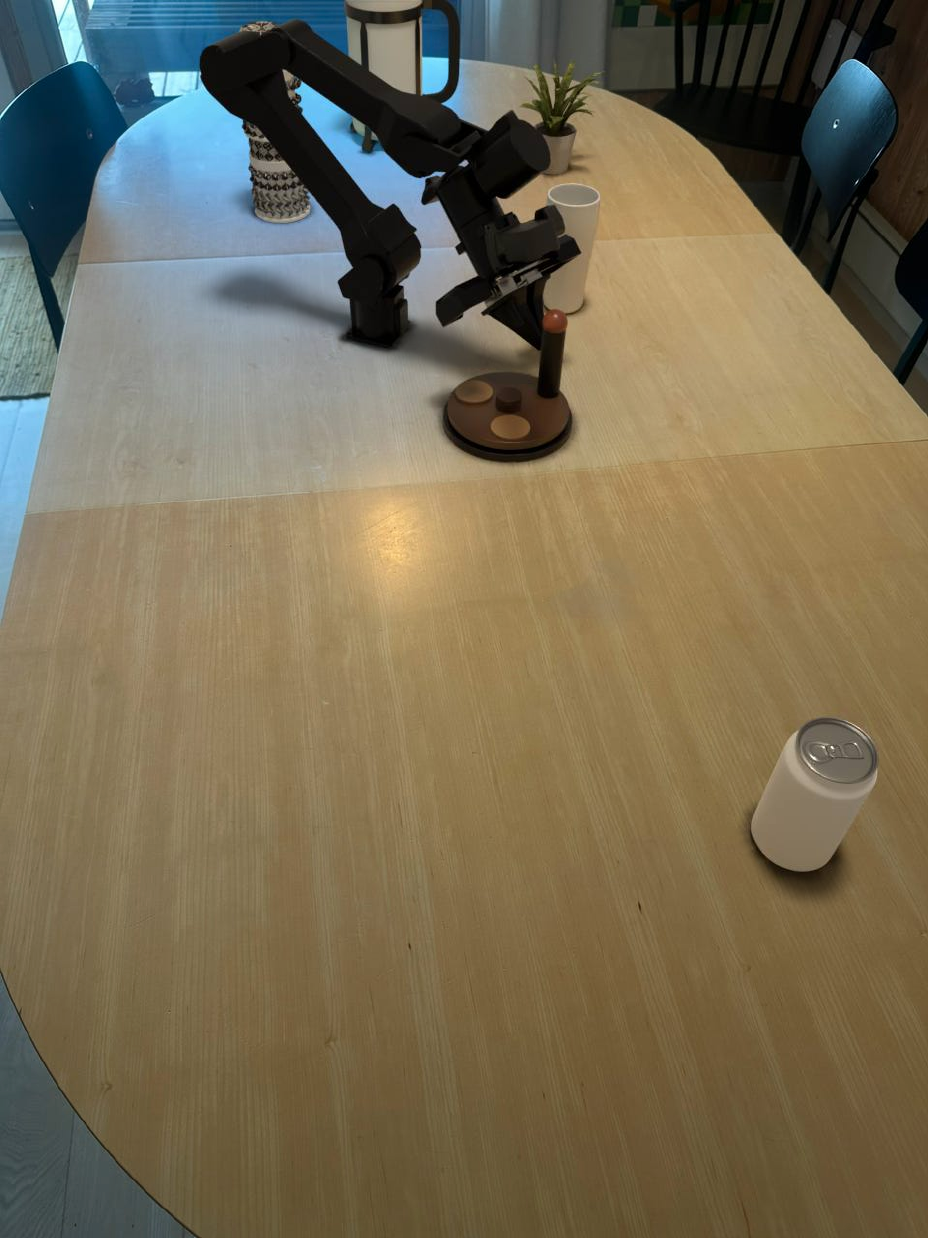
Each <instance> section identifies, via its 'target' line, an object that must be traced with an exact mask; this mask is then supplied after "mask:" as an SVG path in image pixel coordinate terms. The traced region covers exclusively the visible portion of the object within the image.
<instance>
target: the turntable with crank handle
mask: <svg viewBox="0 0 928 1238" xmlns="http://www.w3.org/2000/svg"><path fill="white" fill-rule="evenodd" d="M568 321H569V320H568V317H567V314H566V313H564V312H562V311H561V310H558V309H553V310H547V312H546V313H544V317H543V320H542V326H543V329H542V340H541V351H539V363H538V373H537V374H538V375H537V376H535V375H532V374H528V373H524V372H523V373H522V372H515V371H493V372H487V373H482V374H479V375H475V376H473V377H470V378H468V379H466V380H464V381H462V382H461V383H459V384H458V385H457V386H456V387H455V388H454V389H453V390H452V392H451V393H450V395H449V397H448V399H447V401H448V404H447V413H448V418H449V421H450V423H451V425H452V426H453V428H454V429H455V430H456V431H457V432H458V433H459V434H460V435H462V436H463V437H465V438H466V439H468V440H470V441H472V442H474V443H477V444H479V445H482V446H486V447H490V448H495V449H502V450H520V449H528V448H533V447H537V446H540V445H543V444H545V443H548V442H549V441H551V440H553V439H555V438H556V437H557V436H559V435H560V434H561V433H562V431H563V430H564V429H565V427H566V425H567V423H568V418H569V408H570V405H569V401H568V399H567V397H566V396H565V394H564V393H563V392H562V391H561V390H560V389H561V381H562V380H561V379H562V372H563V362H564V354H565V353H564V351H565V343H566V335H567V328H568V325H569V322H568Z"/></svg>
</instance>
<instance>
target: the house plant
mask: <svg viewBox="0 0 928 1238" xmlns="http://www.w3.org/2000/svg"><path fill="white" fill-rule="evenodd" d="M552 59H553V69H554V77H552V79H553V82H554V104H553V103H552V99H551V94H550V89H549V85H548V82H547V78H546V76H545V74H544V73H543V72H542V70H541V69H540V68H539V65H537V64H536V63H535V62H533V61H531V64H532V67H533V69H534V71H535V74H536V78H537V81H538V85H539V87H537V86H536V84H535V83H534V82H533V81H532V80H531V79H530V78H529V77H527V76H525V75H524V76H523V77H524V78H525V79H526V81H527V82H529V84H530V85H531V87H532V89H533V90H534V91H535V93H536V94H537V95H538V98H539V99H532V100H531V103H532V104H531V103H529V102H525V103H522V104H521V105H519V106H518V107H517V108H518V109H519V108H524V109H529V110H533V111H535V112H537V113H538V114H539V115H540V117H541V119H542V121H540V122H537V123H536V124H535V125H533V126H534V127H535V129H536V130H537V131H538V130H539V131H540V132H541V133H542V135H543V136H544V138H545V140H546V142H547V144H548V147H549V150H550V155H551V162H550V166H549V168H548V169H547V170H546V171H544V172H543V173H542V174H546V175H553V176H554V175H561V174H562V175H563V174H564V173H566V172H567V171H568V168H569V164H570V160H571V157H572V151H573V149H574V148H573V147H574V145H575V141H576V136H577V131H578V129H577V128H576V127H577V126H575V125H574V124H572V123H573V121H571V122H568V120H569V119H570V117H571V116H572V115H574V114H576V113H580V116H582V115H583V114H587V115H591V117H594V115H593V113H594V110H588V109H585V108H581V107H584V106H585V105H587V106H588V105H589V104H588V103H586V102H584V100H586V99H587V98H589V97H592V96H593V94H589V92H586V91H585V92H584V91H583V90H584V88H586V87H587V86H588V85H591V84H604V82H601V81H596V80H598V78H595V77H596V76H597V75H600V74H603V73H604V72H605V70H603V71H598V72H595V73H592V74H590V75H589V76H587V77H586V78H584V79H583V80H582V81H581V82H580V83H578V84H576V85H573V86H571V83H572V81H573V79H574V78H573V76H574V75H573V73H574V68H575V63H576V61H574V62H573V58H571V59H570V60H569V63H568V67H567V69H566V70H565V72H564V74H563V76H562V79H561V80H560V74H559V70H558V65H557V63H556V61H555V58H552ZM572 90H573V91H572ZM571 91H572V92H571ZM582 91H583V92H582ZM569 92H571V94H570V95H569V96H568V97H567V98H566V96H567V94H568V93H569ZM580 95H584V96H582V97H581V98H579V96H580ZM576 100H577V101H576ZM576 119H578V117H576V118H575V120H576Z"/></svg>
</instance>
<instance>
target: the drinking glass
mask: <svg viewBox="0 0 928 1238" xmlns="http://www.w3.org/2000/svg"><path fill="white" fill-rule="evenodd" d="M548 205H555V206H556V208H557V209H558V211H559V213H560V214H561V216H562V218H563V221H564V225H565V232H564V234H562V235H560V236H558V238H559V237H561V236H563V235H565V234H566V235H569V236H571V237H573V238H574V239H575V241H576V243H577V245H578V247H579V249H580V251H581V253H582V254H580V255H579V256H577V257H576V258H574V259H573V260H572V261H570V262H569V263H567V264H566V265H564V266H563V267H561V268H560V269H558V270H557V271H555V272H554V273H552V274H551V278H550V279H549V280H547V281H546V284H545V288H544V291H543V305H544V306H545V307H546V308H547V309H548V311H550V310H553V309H558V310H561V311H562V312H564V313H565V314H571V313H575V312H576V311H579V310H580V309H581V308H582V306H583V303H584V296H585V290H586V285H587V279H588V275H589V270H590V265H591V261H592V256H593V251H594V247H595V241H596V237H597V231H598V226H599V219H600V210H601V194H600V192H599V191H598V190H597V189H596V188H594V187H592V186H590V185H586V184H583V183H575V182H574V183H571V182H570V183H569V182H568V183H561V184H556V185H554V186H552V187H551V188H550V189H549V190H548V191H547V194H546V203H545V206H548Z"/></svg>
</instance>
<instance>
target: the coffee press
mask: <svg viewBox="0 0 928 1238" xmlns="http://www.w3.org/2000/svg"><path fill="white" fill-rule="evenodd" d="M343 7H344V15H345V16H346V31H347V32H346V33H347V48H348V49H347V50H348V51H347V52H348V56H349V57H350V58H352V59H353V60H355V61H356V62H358V63H359V64H360V65H362V66H363V67H365V68H366V69H368V70H369V71H370V72H372V73H373V74H375V75H376V76H378V77H379V78H381V79H382V80H383V81H385V82H386V83H388V84H389V85H391V86H392V87H394V88H396V89H398V90H400V91H402V92H407V93H412V94H417V95H422V96H425V97H428V98H430V99H432V100H434V101H436V102H438V103H441V104H444V103H446V102H447V101H449V100H450V99H451V98H452V97H453V96H454V94H455V92H456V91H457V89H458V85H459V81H460V69H461V68H460V65H461V27H460V18H459V16H458V12H457V10H456V9H455V7H454V6H453V4H452V3H451V2H450V1H449V0H343ZM424 10H433V11H439V12H442V13H443V14H444V16H445V17H446V20H447V24H448V25H447V26H448V51H447V52H448V54H447V55H448V57H447V60H448V61H447V62H448V63H447V64H448V65H447V81H446V83H445V85H444V86H443V88H442V89H441V90H439V91H438V92H434V93H423V14H424ZM349 129H350V131H352V132H353V133H358V134H359V135H360V136H362V137H363V141H362V144H361V151H362V152H365V153H368V154H371V153H373V151H374V148H375V145H376V144H377V143H378V142H379V140H378V138H377V136H376V135H375V134H374V133H373V132H372V131H371V130H370V129H369V128H368V127H366V126H365V125H364V124H362V123H361V122H359V121H358V120H356V119H355V118H353V117H352V121H351V122H350V124H349Z"/></svg>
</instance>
